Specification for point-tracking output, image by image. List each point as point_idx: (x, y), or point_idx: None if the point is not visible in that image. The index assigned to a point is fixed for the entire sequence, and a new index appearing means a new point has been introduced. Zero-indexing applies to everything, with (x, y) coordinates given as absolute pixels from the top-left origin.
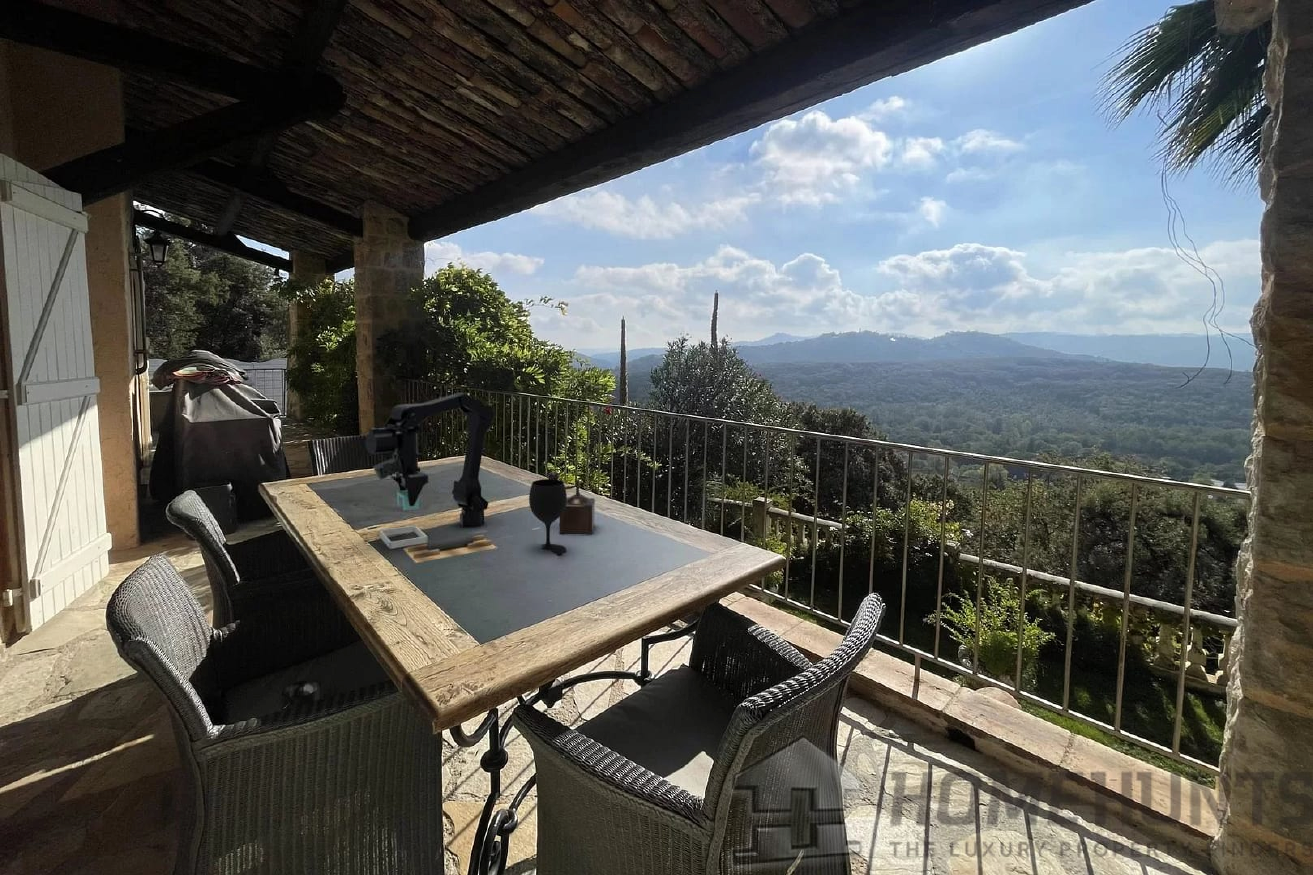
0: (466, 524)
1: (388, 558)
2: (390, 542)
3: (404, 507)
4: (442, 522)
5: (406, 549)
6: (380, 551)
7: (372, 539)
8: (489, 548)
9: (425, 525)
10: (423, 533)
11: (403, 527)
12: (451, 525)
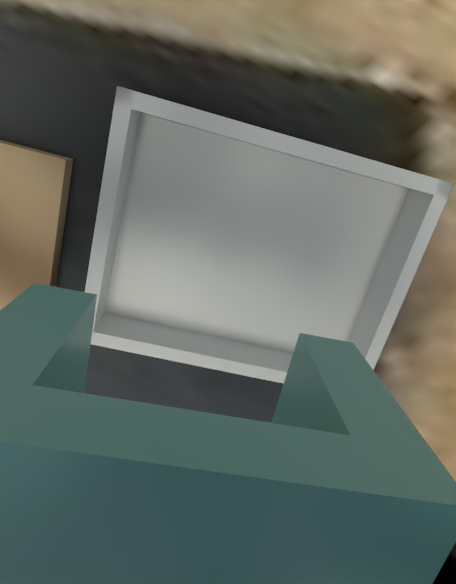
0: None
1: (8, 18)
2: (118, 96)
3: (13, 303)
4: None
5: (33, 166)
6: (187, 56)
7: (453, 145)
8: None
9: None
10: (159, 354)
11: (377, 330)
12: None
